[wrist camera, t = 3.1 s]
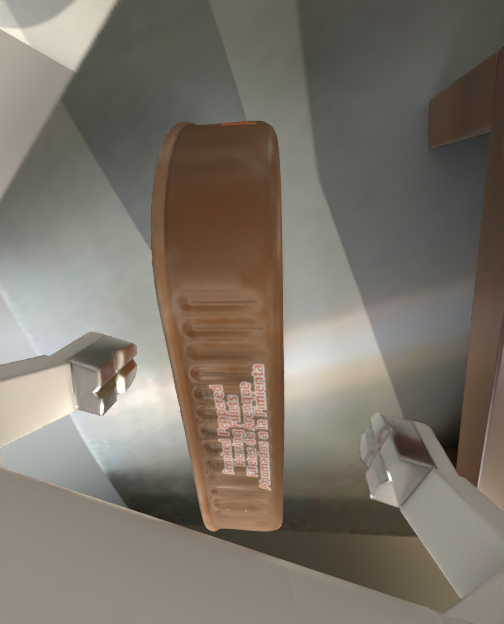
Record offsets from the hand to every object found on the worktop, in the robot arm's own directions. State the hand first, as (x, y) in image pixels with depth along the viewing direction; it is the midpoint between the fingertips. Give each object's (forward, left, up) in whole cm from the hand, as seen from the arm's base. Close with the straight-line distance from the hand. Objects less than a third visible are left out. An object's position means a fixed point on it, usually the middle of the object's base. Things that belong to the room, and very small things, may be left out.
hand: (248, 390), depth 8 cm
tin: (0, 0, -6) cm, 6 cm away
